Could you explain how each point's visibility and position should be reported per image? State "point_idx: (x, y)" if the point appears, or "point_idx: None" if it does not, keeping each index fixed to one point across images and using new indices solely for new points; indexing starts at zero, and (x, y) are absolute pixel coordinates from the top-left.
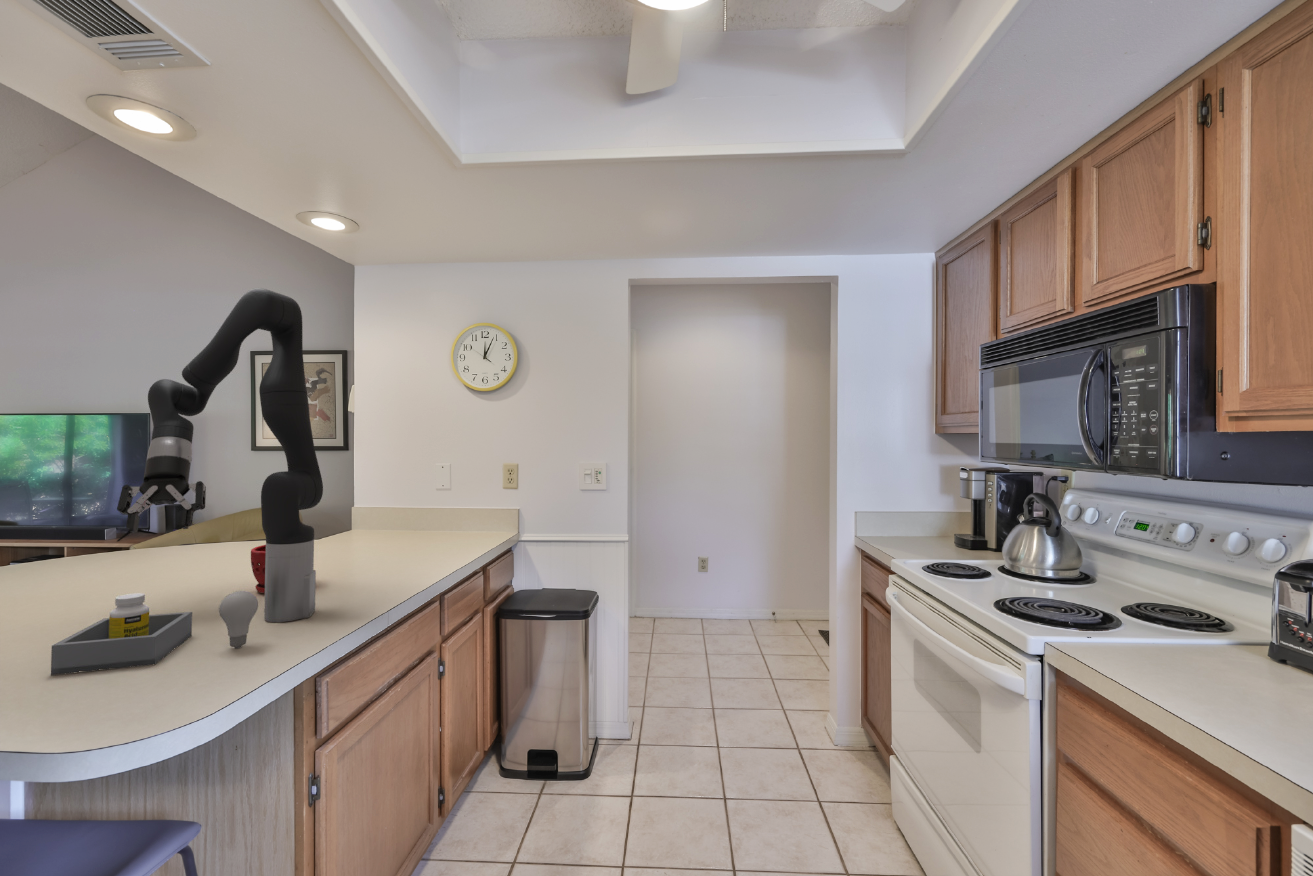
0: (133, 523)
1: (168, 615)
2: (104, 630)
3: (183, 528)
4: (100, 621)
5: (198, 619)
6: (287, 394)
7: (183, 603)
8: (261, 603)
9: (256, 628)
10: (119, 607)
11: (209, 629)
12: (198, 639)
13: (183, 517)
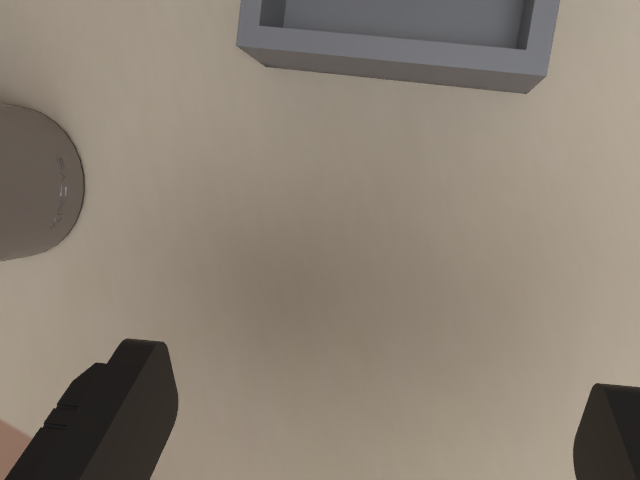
0: (631, 440)
1: (311, 30)
2: (522, 39)
3: (171, 383)
4: (544, 27)
5: (292, 289)
6: None
7: None
8: None
9: (90, 74)
10: None
11: (229, 131)
12: (237, 17)
13: (100, 412)
